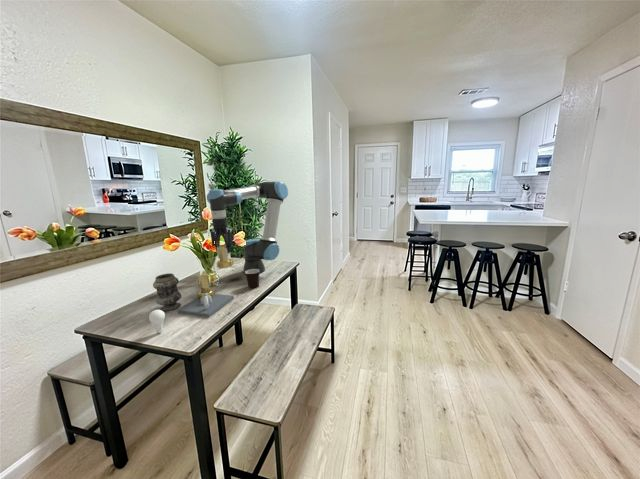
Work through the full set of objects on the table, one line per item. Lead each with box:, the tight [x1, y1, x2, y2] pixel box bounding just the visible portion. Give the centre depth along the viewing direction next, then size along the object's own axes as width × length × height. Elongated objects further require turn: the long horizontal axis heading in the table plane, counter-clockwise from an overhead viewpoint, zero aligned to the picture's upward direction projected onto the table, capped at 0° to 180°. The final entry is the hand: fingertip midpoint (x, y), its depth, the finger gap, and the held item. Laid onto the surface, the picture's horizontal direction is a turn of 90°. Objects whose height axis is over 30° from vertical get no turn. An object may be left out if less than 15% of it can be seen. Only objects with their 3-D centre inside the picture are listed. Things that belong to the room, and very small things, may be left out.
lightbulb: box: [148, 309, 166, 334], centre depth 121 cm, size 6×6×11 cm
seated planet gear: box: [196, 274, 216, 300], centre depth 152 cm, size 9×9×12 cm
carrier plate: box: [176, 293, 235, 319], centre depth 145 cm, size 21×19×9 cm
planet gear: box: [216, 244, 234, 269], centre depth 156 cm, size 9×9×12 cm
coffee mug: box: [244, 269, 260, 290], centre depth 170 cm, size 12×9×10 cm
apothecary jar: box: [152, 272, 182, 313], centre depth 144 cm, size 12×12×18 cm
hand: (224, 257), depth 157 cm, fingers closed on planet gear, 5 cm apart
